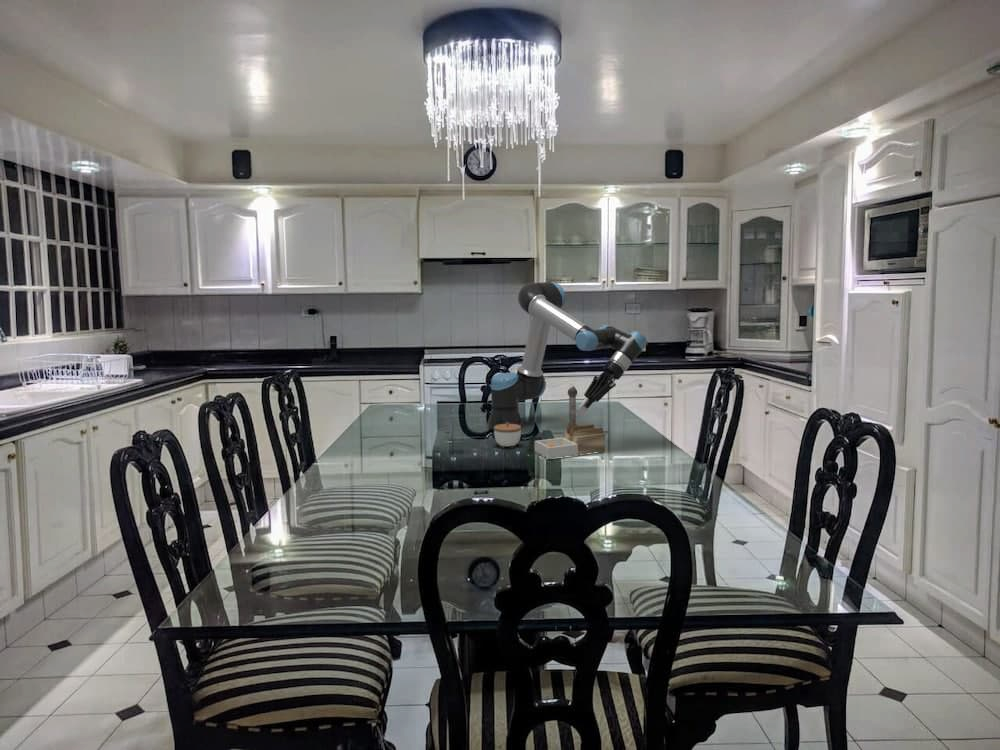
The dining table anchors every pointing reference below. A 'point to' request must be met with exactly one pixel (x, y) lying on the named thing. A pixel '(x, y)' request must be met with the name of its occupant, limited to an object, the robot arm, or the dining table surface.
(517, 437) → the lidded jar
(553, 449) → the tray
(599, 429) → the launcher
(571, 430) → the plunger
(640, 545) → the dining table surface
